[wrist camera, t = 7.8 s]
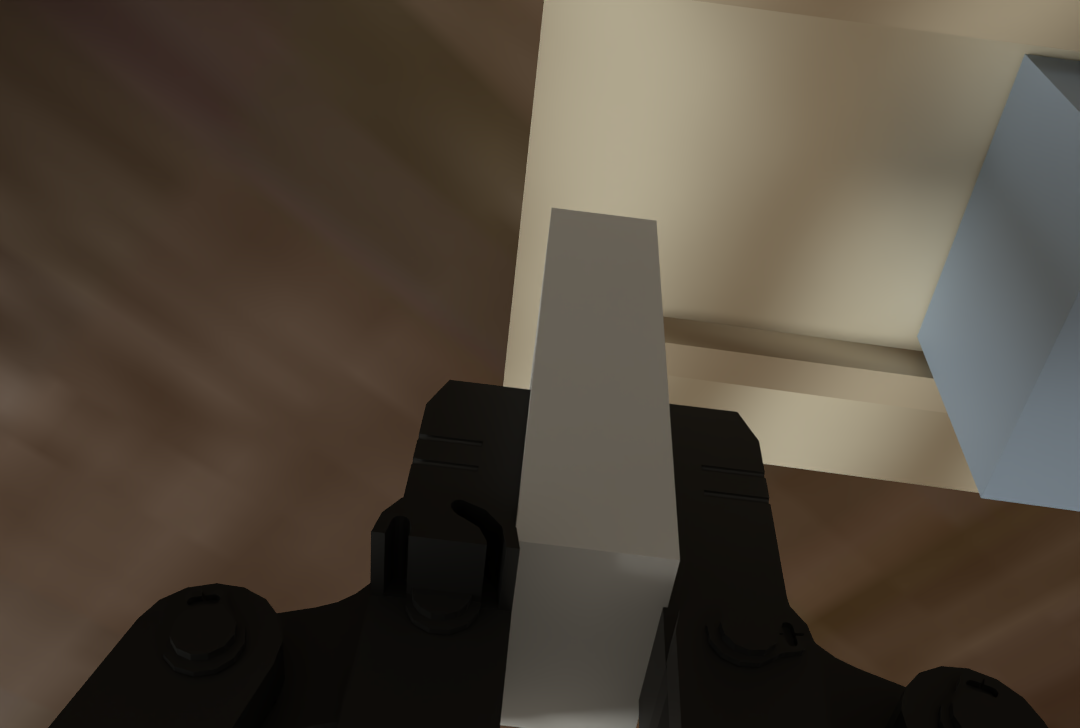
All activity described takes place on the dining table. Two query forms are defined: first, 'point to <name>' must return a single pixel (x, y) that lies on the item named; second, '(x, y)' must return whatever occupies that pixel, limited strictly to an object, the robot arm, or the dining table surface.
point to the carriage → (1018, 300)
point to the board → (784, 198)
